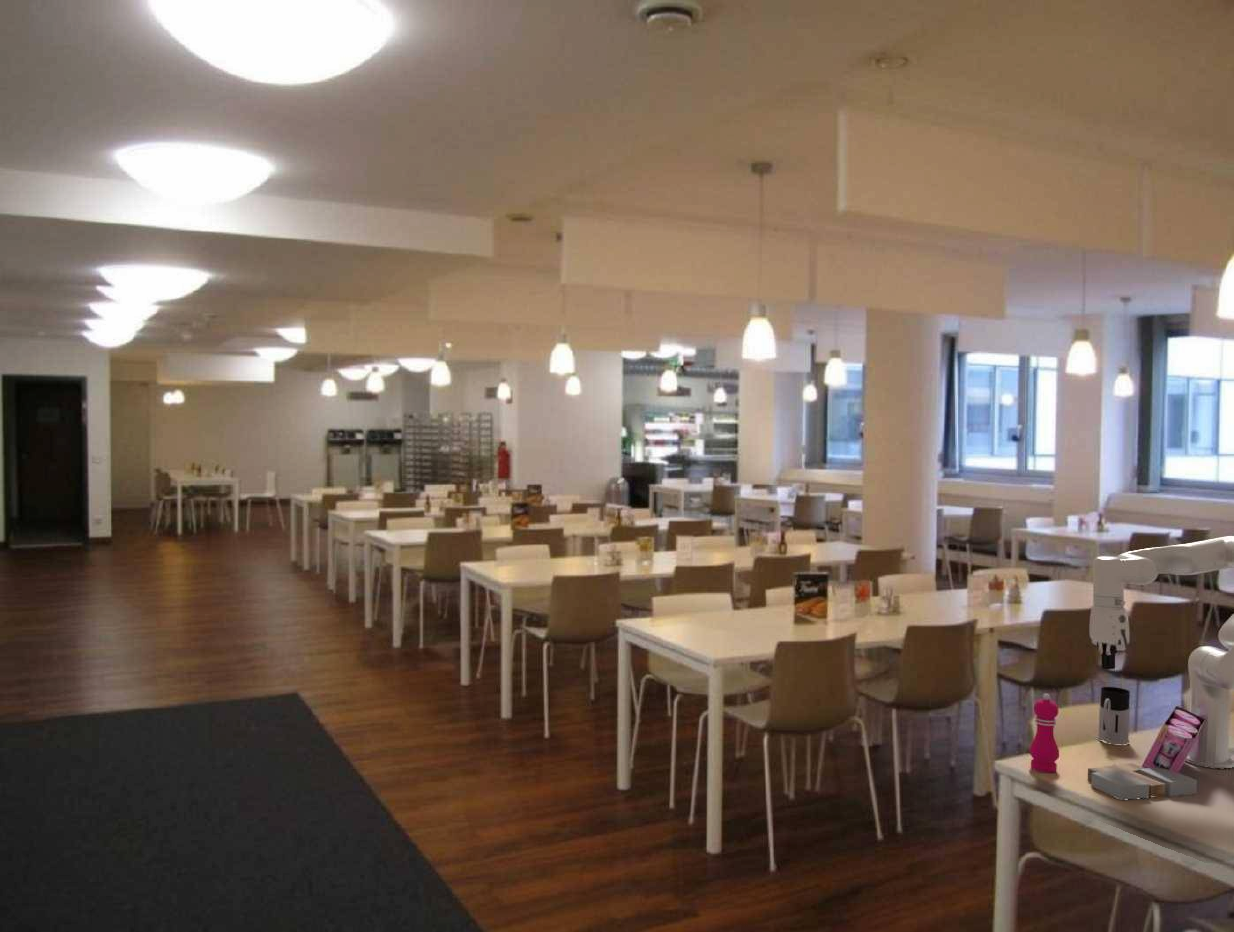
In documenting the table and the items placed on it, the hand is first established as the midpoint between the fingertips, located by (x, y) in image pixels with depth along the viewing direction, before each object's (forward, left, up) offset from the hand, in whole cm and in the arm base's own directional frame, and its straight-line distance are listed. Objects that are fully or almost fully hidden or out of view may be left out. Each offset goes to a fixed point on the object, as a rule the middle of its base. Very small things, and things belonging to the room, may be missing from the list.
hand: (1108, 668), depth 270 cm
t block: (+10, +21, -25) cm, 34 cm away
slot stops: (+9, +23, -25) cm, 35 cm away
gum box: (-9, +11, -24) cm, 28 cm away
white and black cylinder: (-13, -12, -25) cm, 31 cm away
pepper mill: (+23, +4, -25) cm, 35 cm away
